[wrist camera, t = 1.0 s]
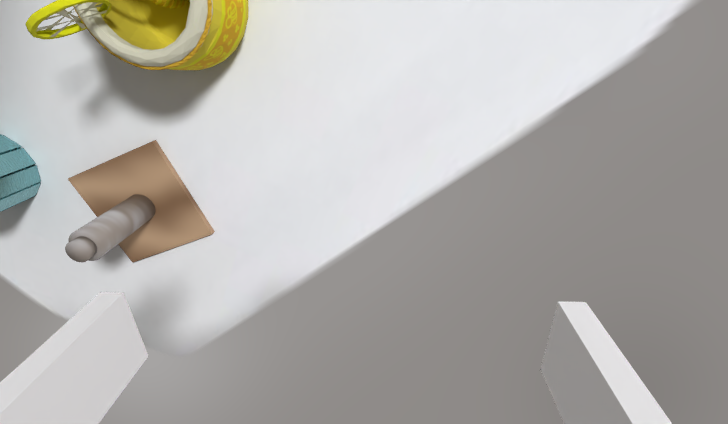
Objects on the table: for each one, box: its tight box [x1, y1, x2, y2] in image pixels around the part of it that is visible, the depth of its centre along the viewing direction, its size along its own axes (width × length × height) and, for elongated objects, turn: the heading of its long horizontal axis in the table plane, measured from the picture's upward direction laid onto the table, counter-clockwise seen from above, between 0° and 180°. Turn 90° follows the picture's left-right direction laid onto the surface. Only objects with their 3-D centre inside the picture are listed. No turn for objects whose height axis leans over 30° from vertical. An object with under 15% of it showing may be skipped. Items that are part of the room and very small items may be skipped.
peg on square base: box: [65, 140, 214, 262], centre depth 36 cm, size 11×11×10 cm
